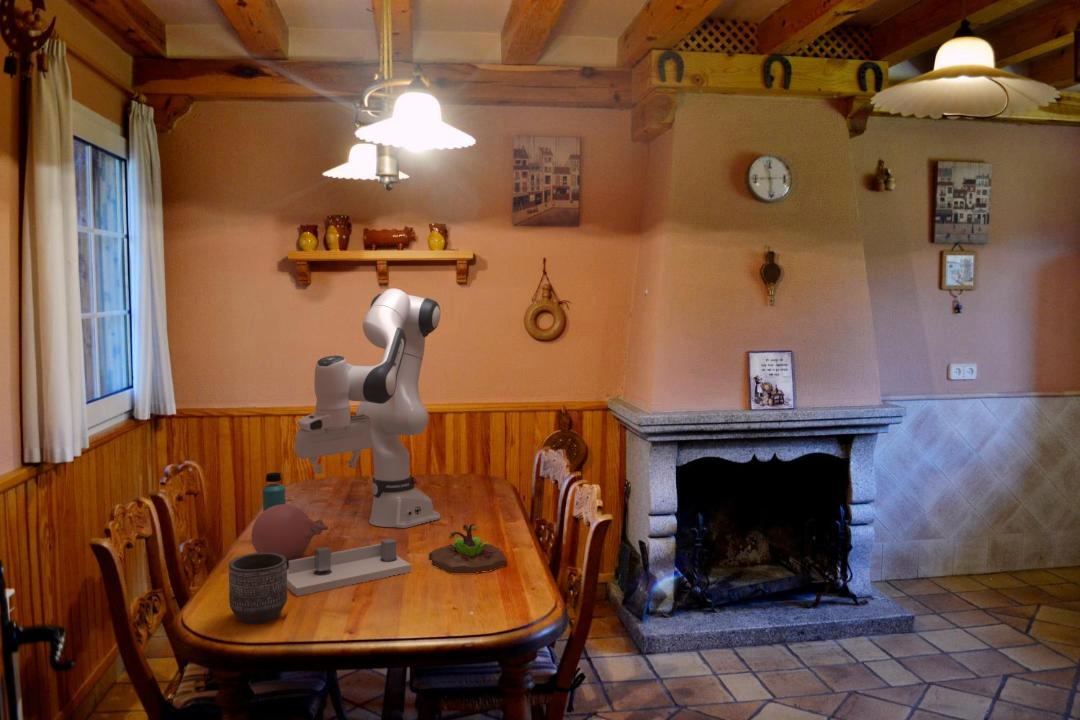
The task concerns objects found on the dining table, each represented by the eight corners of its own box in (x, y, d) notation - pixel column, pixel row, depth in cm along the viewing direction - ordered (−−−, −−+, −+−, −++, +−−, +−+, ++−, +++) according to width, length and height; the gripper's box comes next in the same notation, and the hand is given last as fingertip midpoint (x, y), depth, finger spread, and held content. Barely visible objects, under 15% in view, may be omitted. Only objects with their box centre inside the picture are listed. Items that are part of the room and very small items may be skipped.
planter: (252, 603, 186) (251, 549, 185) (298, 610, 183) (297, 555, 182) (217, 624, 175) (216, 566, 174) (265, 631, 171) (264, 573, 170)
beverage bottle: (279, 545, 229) (278, 476, 227) (258, 543, 230) (257, 475, 228) (290, 538, 235) (290, 471, 233) (270, 537, 236) (269, 470, 235)
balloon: (318, 572, 207) (317, 514, 206) (242, 570, 208) (241, 512, 207) (336, 553, 222) (336, 499, 221) (265, 551, 223) (264, 497, 222)
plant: (450, 580, 204) (450, 537, 203) (420, 558, 221) (420, 518, 220) (518, 567, 214) (519, 526, 213) (485, 547, 231) (486, 509, 230)
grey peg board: (387, 557, 220) (387, 532, 219) (411, 572, 208) (411, 545, 208) (278, 579, 202) (277, 551, 202) (297, 596, 191) (296, 567, 190)
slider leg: (324, 565, 205) (324, 544, 205) (330, 570, 201) (330, 549, 201) (312, 567, 203) (312, 547, 203) (319, 573, 200) (318, 551, 199)
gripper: (365, 411, 219) (367, 461, 221) (291, 421, 207) (294, 473, 209) (375, 415, 214) (377, 465, 216) (299, 425, 202) (302, 478, 204)
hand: (335, 469), depth 212 cm, fingers open, 8 cm apart
